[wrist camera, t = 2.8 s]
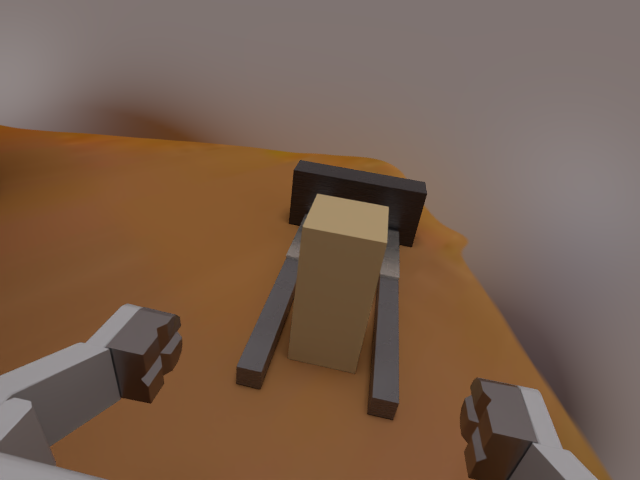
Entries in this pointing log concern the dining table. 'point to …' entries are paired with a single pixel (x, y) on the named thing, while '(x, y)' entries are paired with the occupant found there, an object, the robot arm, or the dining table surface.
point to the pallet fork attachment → (402, 226)
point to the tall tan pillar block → (336, 280)
